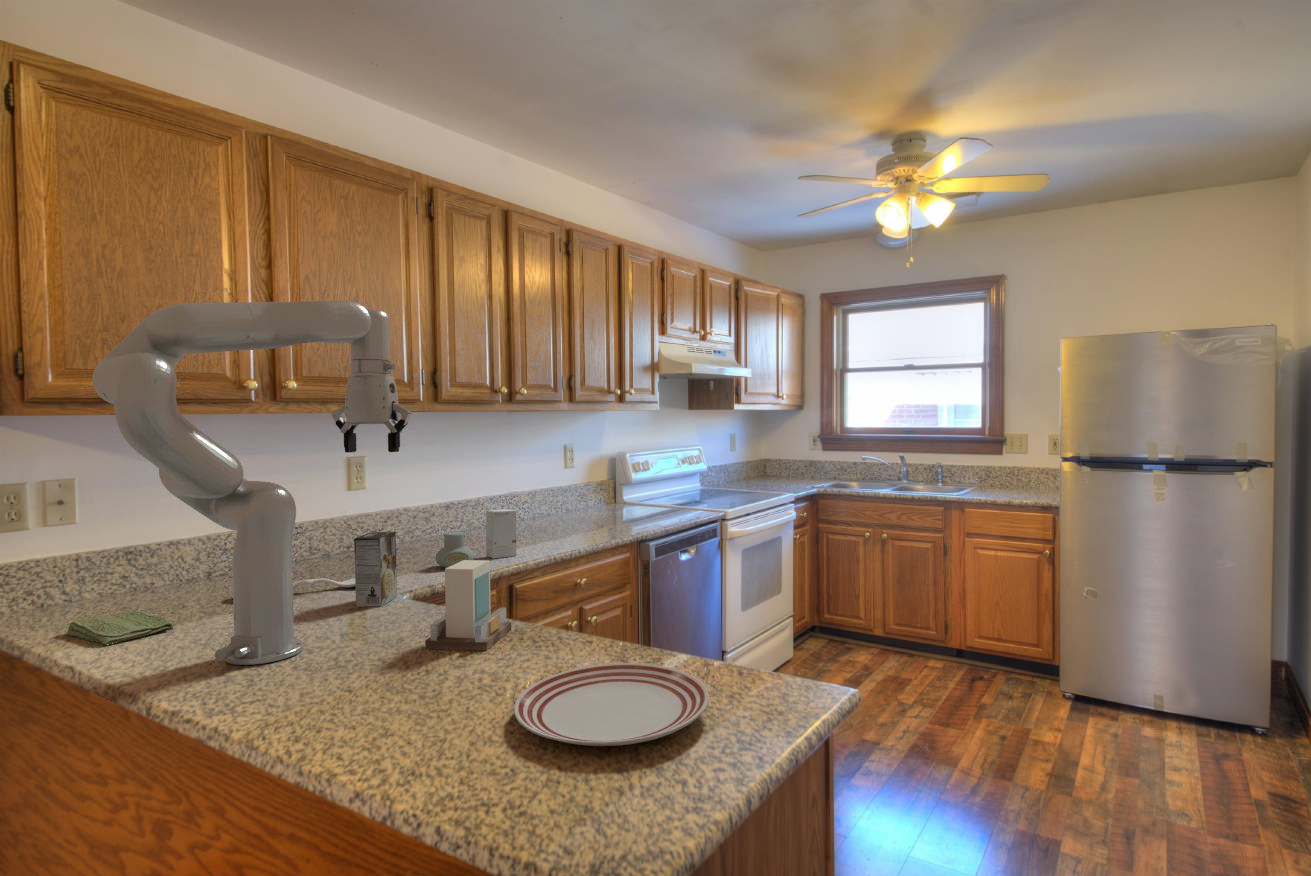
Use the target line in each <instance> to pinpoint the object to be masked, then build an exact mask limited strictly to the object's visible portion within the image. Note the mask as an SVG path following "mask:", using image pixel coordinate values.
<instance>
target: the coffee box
mask: <svg viewBox="0 0 1311 876" xmlns="http://www.w3.org/2000/svg"><path fill="white" fill-rule="evenodd" d="M353 542H354V544H353V547H354V548H353V549H354V576H355V577H354V578H355V607H358V608H359V607H360V608H361V607H367V606H369V607H370V608H371V607H383V606H385V605H386V604H388V603H389V602H391V601H392V600H394V599H396V598H397V597H398V581H397V580H398V579H397V575H398V574H397V541H396V531H372V532H368V533H366V534H363V535H360V536H358V537H354V538H353Z"/></svg>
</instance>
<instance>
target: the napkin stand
mask: <svg viewBox="0 0 1311 876" xmlns="http://www.w3.org/2000/svg"><path fill="white" fill-rule="evenodd" d="M511 631H512V622H509V621H508V622H507V621H506V623H505V624H504V625H502V626H501V627H500V628H499V629H497V630H496V631H495V632H494V633H492V634H491V635H490V636H488V637H487V638H486V639H485V640H483V641H482V642H475V638H455V637H446V635H444V636H443V637H441V638H440V639H438V640H437V641H431V636H430V637H428V638H426V639H425V642H424V643H425V644H424V646H425V647H424V648H425V649H432V648H433V650H438V649H439V650H458V651H459V650H461V651H462V650H463V651H464V650H465V651H486V652H487V651H489V650H490V648H491V647H492V646H494V645H495V644H496V643H498V642H499V641H500V640H501V639H502V638H503V637H505V636H506V635H507V634H509V633H510V632H511Z"/></svg>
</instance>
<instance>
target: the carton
mask: <svg viewBox="0 0 1311 876" xmlns="http://www.w3.org/2000/svg"><path fill="white" fill-rule="evenodd" d="M444 583H445V584H444V586H445V587H444V588H445V590H444V591H445V594H444V596H445V615H446V637H455V638H475V625H477V624H478V623H480V622H481V621H482V620H484V619H485V618H486V617H488V616H489V615H491V614H492V613H491V611H492V609H491V605H492V604H491V560H488V559H487V560H483V559H480V560H478V559H477V560H475V559H473V560H463V561H461V562H459V563H456V564H454V565H452V566H450V567H448V568H444Z"/></svg>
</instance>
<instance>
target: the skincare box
mask: <svg viewBox="0 0 1311 876" xmlns="http://www.w3.org/2000/svg"><path fill="white" fill-rule="evenodd" d="M485 514H486V515H485V516H486V517H485V518H486V519H485V521H486V524H485V527H486V528H485V529H486V530H485V533H486V535H485V536H486V537H485V538H486V539H485V542H486V543H485V544H486V545H485V547H486V549H485V556H486V557H488V558H490V559H492V560H495V559H502V557H504V558H511V557H516V556H517V510H516V509H509V508H508V509H507V508H506V509H490V510H489V509H488V510H485Z"/></svg>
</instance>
